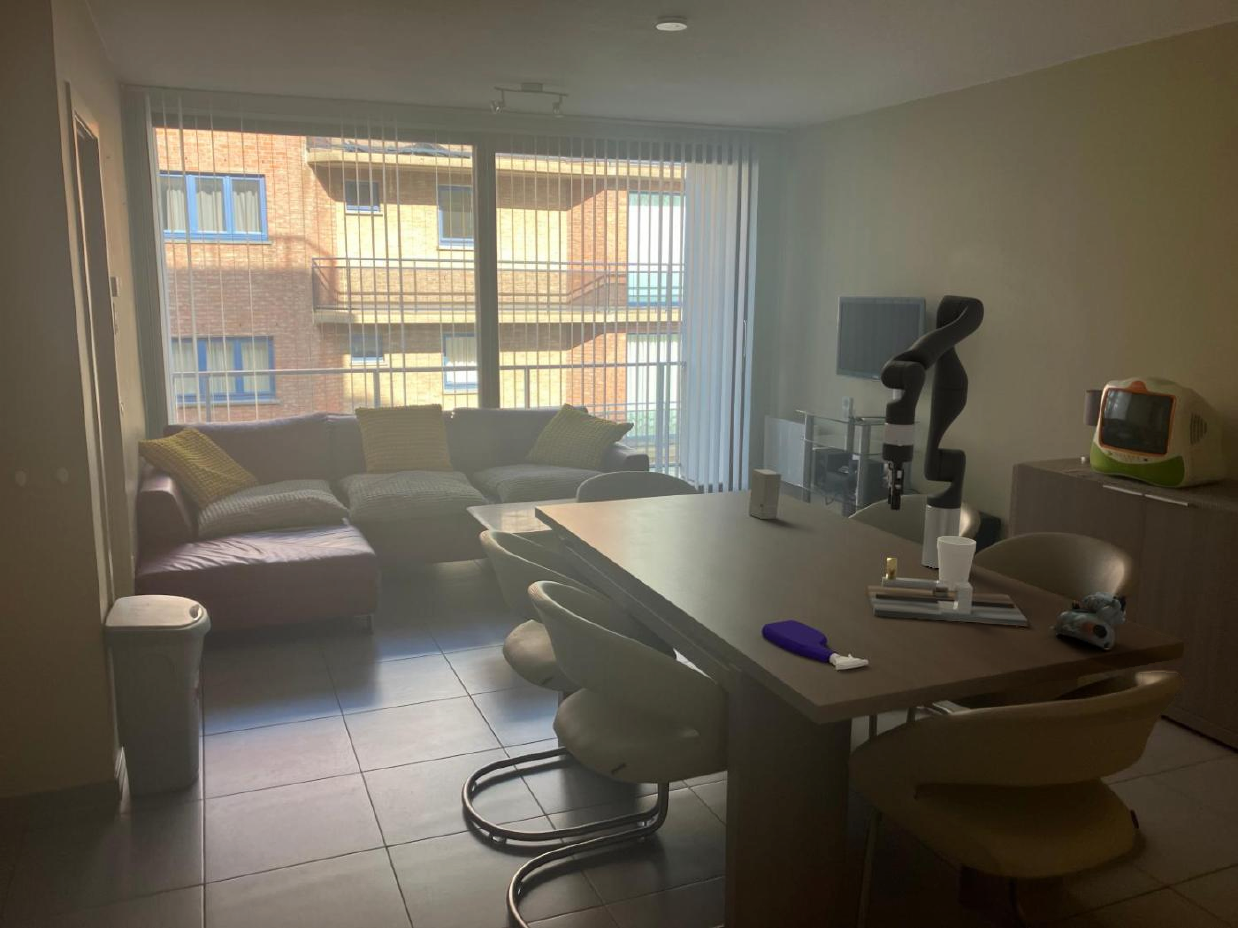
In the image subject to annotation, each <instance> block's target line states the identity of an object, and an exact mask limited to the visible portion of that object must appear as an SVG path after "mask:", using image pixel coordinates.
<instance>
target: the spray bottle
mask: <svg viewBox="0 0 1238 928" xmlns="http://www.w3.org/2000/svg"><path fill="white" fill-rule="evenodd" d="M761 634H762V637H764V638H765V639H766V640H768V641H769V642H770V643H773V644H774V645H776V646H778V647H780V648H782V649H784V650H786V651H789V652H791V653H793V654H796V655H798V656H799V655H800V656H804V657H807V658H811V659H814V660H818V661H822V662H825V663H830V664H833V666H835V670H837V671H838V670H849V669H855V668H859V667H865V666H867V665H869V661H868V659H861V658H859V657H858V658H857V657H856V658H855V657H853V656H852V655H851V654H850V653H849V654H848V656H842V655H840V654H839V652H837V651H836V650H831V649H830V648H828V647H826V646H827V644H828V638H827V636H826V635H825V634H824V633H823V632H821V631H820V630H818V629H816V628H813V627H811V626H809V625H807V624H805V623H802V622H799V621H798V620H793V619H791V620H790V619H789V620H783V621H778V622H777V621H776V622H772V623H770V622H769V623H766V624H764V625H763V626H762V630H761Z"/></svg>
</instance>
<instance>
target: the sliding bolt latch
mask: <svg viewBox="0 0 1238 928" xmlns="http://www.w3.org/2000/svg"><path fill="white" fill-rule="evenodd" d="M867 590H868V591H867V593H868V597H870V598H869V602H870V601H871V602H870V605H871V604H872V605H871V608H873V609H872V612H873V615H875V616H874V617H884V616H887V617H888V618H900V619H911V618H918V619H917V620H924V619H940V620H956V621H958V620H962V621H979V622H995V623H1006V624H1007V623H1008V624H1018V625H1027V626H1028V619H1027V618H1026V617H1025V615H1024V613H1023V612H1022V611H1021V610H1020V609H1019V608H1018V606H1017V605H1016V604H1015V603H1014V601H1013V600H1012V598H1011V597H1010V596H1009V594H1001V593H985V592H972V603H971V615H958V614H945V613H940V611H939V609H938V607H937V601H947V602H954V595H955V591H947V592H940V591H934V590H920V589H905V588H891V587H883V586H882V585H873V584H872V585H871V584H867ZM887 617H886V618H887Z"/></svg>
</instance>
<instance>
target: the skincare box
mask: <svg viewBox="0 0 1238 928" xmlns="http://www.w3.org/2000/svg"><path fill="white" fill-rule="evenodd" d="M781 481H782V473H779V472H776V471H774V470H770V469H756V468H755V469H753V472H752V480H751V488H750V489H751V490H750V498H749V499H750V500H749V507H748V515H749V516H753V517H754V518H757V519H760V520H771V519H773V520H775V519H777V517H778V515H777V514H778V506H779V498H780V490H781V489H780V488H781Z"/></svg>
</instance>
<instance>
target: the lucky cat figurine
mask: <svg viewBox="0 0 1238 928" xmlns="http://www.w3.org/2000/svg"><path fill="white" fill-rule="evenodd" d="M1126 598H1127V595H1123V594H1122V595H1119V596H1117V595H1116V594H1115V593H1111V592H1107V591H1097V592H1095V593H1093V594H1090V595H1088V596H1086V597H1084V599H1083V600H1082V601H1081V603H1080V602H1079V601H1078V600H1077V599H1075V600H1073V601H1072V602H1070V606H1071V608H1070V609H1068V611H1064V612H1062V613H1061V614H1060V615H1059V616H1058V617H1057V619H1056V623H1055V625H1053V626H1051V627H1050V628H1049V630H1050V631H1051V632H1053V633H1054V634H1055V633H1057V634H1059V635H1060V634H1062V635H1061V636H1066V635H1067V637H1072V638H1074V637H1075V638H1074V639H1077V640H1080V641H1082V642H1085V643H1088V644H1091V645H1093V646H1094V647H1095V646H1096V647H1098V648H1100V647H1101V648H1100V649H1102V648H1111V647H1112V648H1113V647H1114V643H1115V638H1116V632H1117V630H1118V629H1119V628H1120V627H1121V626H1122V625H1123V624H1124V623H1125V621H1126V619H1125V617H1126V606H1127V605H1126V604H1127V601H1126ZM1112 648H1111V649H1112Z"/></svg>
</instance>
